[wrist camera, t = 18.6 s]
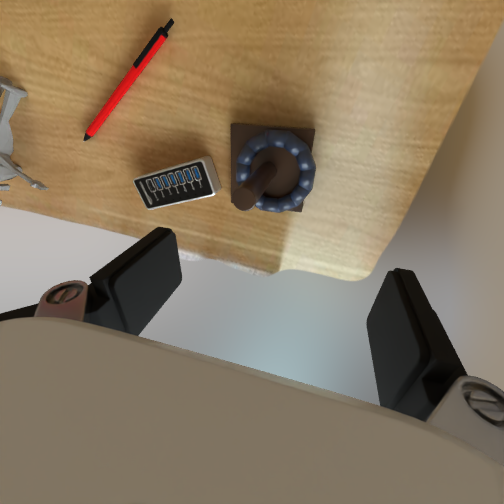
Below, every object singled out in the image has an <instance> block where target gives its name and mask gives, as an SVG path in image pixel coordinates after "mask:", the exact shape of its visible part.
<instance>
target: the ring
mask: <svg viewBox="0 0 504 504" xmlns="http://www.w3.org/2000/svg"><path fill="white" fill-rule="evenodd" d="M267 147H281V148H285V149H286V150H287V151H288V152H290V153H291V154H292V155H294V156H295V158H296V160H297V163H298V165H299V168H300V175H299V182H298V185H297V186H296V187H295V189H294V190H293V191H292V192H291V194H289V195H286V196H284V197H282V198H279V199H277V198H269V197H265V196H264V195H262V196H261V197H260V199H259V200H258V202H257V203H256V205H255V206H256V207H257V208H259V209H260V210H263V211H271V212H278V213H280V212H283V211H286V210H289V209H291V208H294V207H296V206H298V205H300V203H301V202H302V201H303V200H304V199H305V197H306V196H307V195H308V194H309V193H310V191H311V190H312V188H313V182H314V177H315V171H316V165H315V162H314V160H313V157H312V154H311V151H310V149H309V146H308V145H307V144H306V143H305V142H304V141H302V140H301V139H300V138H298V137H297V136H296V135H295V134H293V133H292V132H290V131H286V130H272V129H267V130H264V131H262V132H261V133H259V134H257V135H255V136H254V137H252V138H250V139H248V140H247V141H246V143H245V145H244V146H243V148H242V150H241V152H240V154H239V155H238V157H237V159H236V182H237V184H238V186H240V185H241V184H242V183H243V182H244V181H245V180H246V179H247V178H248V177H249V176H250V164H251V162H252V161H253V159H254V157H255V156H256V154H257V153H258V152H260V151H262V150H264V149H266V148H267Z"/></svg>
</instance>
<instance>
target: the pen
mask: <svg viewBox="0 0 504 504" xmlns="http://www.w3.org/2000/svg"><path fill="white" fill-rule="evenodd" d="M173 24H174V21H173V19H172V18H171V19H170V20H169V22H168V23H167V24H166V26H165V27H164V28H163V27H160V28H159V29H158V30H157V32H156V33H155V34H154V36H153V37H152V39H151V40H150V41H149V43H148V44H147V46H146V47H145V48H144V50H143V51H142V52H141V54H140V55H139V57H138V58H137V59H136V61H135V62H134V64H133V66H132V67H131V69H130V70H129V71H128V73H127V74H126V76H125V77H124V78H123V80H122V81H121V83H120V84H119V85H118V87H117V88H116V90H115V91H114V92H113V94H112V95H111V97H110V98H109V99H108V101H107V102H106V104H105V105H104V106H103V108H102V109H101V111H100V112H99V113H98V115H97V116H96V118H95V119H94V120H93V122H92V123H91V125H90V126H89V127H88V129H87V130H86V133H85V136H84V142H85V141H86V140H88V139H89V138H91V137H92V136H94V134H95V133H96V132H97V130H98V129H99V128H100V126H101V125H102V124H103V122H104V121H105V120H106V118H107V117H108V116H109V114H110V113H111V112H112V110H113V109H114V108H115V106H116V105H117V104H118V102H119V101H120V100H121V98H122V97H123V96H124V94H125V93H126V92H127V90H128V89H129V88H130V86H131V85H132V84H133V82H134V81H135V80H136V78H137V77H138V76H139V74H140V73H141V72H142V71H143V69H144V68H145V67H146V65H147V64H148V63H149V61H150V60H151V59H152V57H153V56H154V55H155V53H156V52H157V51H158V49H159V48H160V47H161V45H162V44H163V43H164V41H165V40H166V39H167V37H168V34H167V32H168V30H169V29H170V28H171V26H172V25H173Z"/></svg>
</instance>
